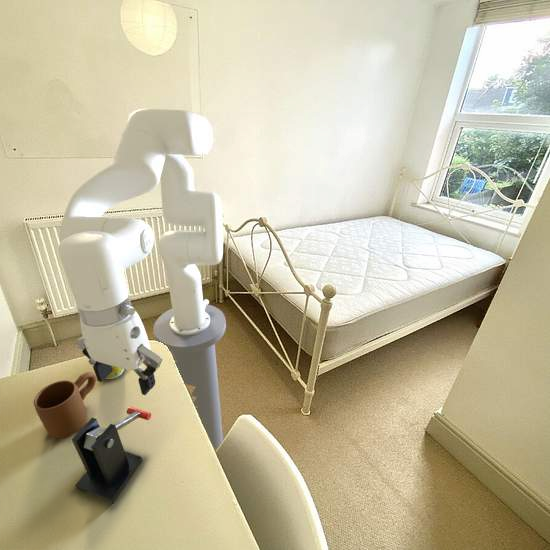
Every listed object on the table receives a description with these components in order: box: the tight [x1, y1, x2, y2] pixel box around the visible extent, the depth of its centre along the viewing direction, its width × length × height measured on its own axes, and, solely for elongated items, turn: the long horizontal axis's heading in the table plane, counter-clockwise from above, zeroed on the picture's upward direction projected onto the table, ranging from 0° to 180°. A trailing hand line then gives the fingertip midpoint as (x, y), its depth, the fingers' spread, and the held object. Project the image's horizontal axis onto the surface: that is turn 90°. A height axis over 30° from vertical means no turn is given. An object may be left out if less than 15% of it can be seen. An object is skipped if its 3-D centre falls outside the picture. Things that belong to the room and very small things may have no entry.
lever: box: [84, 406, 152, 451], centre depth 58 cm, size 13×5×2 cm, turn 163°
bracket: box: [71, 417, 143, 505], centre depth 55 cm, size 8×8×13 cm
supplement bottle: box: [104, 366, 125, 380], centre depth 78 cm, size 5×5×10 cm
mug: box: [33, 371, 97, 439], centre depth 67 cm, size 12×8×9 cm, turn 153°
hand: (127, 382), depth 58 cm, fingers open, 9 cm apart
